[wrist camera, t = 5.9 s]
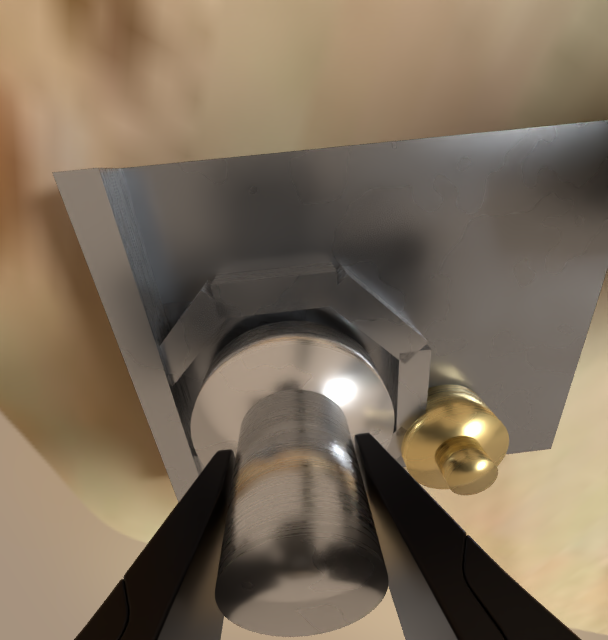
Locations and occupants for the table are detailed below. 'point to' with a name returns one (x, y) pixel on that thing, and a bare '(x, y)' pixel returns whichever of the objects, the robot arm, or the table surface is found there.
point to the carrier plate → (365, 279)
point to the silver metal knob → (295, 477)
